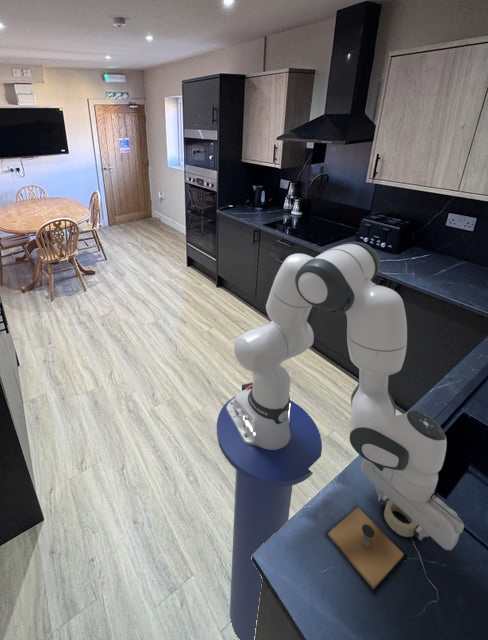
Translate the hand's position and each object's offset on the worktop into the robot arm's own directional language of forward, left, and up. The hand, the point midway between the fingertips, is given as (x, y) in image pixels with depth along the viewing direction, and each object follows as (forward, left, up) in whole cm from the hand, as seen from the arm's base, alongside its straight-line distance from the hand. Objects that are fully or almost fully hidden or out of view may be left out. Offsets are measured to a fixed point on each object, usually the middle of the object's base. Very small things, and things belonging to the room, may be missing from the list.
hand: (399, 518), depth 78 cm
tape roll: (0, 0, -1) cm, 1 cm away
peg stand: (-1, -12, -1) cm, 12 cm away
